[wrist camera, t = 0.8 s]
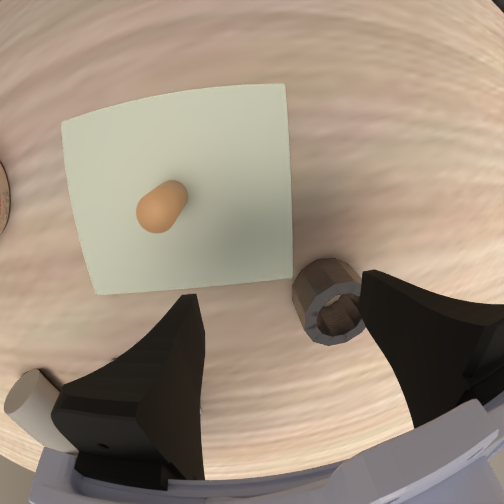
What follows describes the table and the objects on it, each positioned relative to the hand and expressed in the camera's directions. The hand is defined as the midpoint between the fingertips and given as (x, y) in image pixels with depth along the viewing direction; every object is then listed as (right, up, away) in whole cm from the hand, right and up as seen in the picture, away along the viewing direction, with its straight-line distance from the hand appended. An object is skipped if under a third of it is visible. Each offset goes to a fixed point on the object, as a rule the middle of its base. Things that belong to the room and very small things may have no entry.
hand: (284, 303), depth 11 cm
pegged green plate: (-7, +6, +7) cm, 12 cm away
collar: (+5, -1, +11) cm, 12 cm away
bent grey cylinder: (-29, -23, +17) cm, 41 cm away
